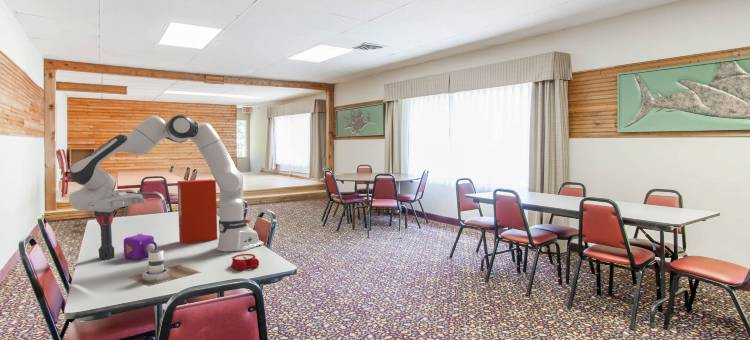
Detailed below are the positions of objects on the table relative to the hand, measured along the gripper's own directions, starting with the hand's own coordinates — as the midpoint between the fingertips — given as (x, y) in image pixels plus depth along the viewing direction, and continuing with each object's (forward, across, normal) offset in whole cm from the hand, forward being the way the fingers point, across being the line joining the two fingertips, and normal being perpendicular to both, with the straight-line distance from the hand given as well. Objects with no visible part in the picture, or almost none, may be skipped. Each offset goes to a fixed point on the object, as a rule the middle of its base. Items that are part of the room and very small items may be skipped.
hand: (134, 202), depth 168 cm
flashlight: (-30, +14, +28) cm, 43 cm away
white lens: (+17, -9, +27) cm, 33 cm away
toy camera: (-14, +18, +28) cm, 36 cm away
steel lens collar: (+17, -9, +27) cm, 33 cm away
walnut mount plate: (+17, -5, +28) cm, 33 cm away
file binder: (-10, +52, +28) cm, 60 cm away
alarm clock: (+40, +15, +28) cm, 51 cm away
